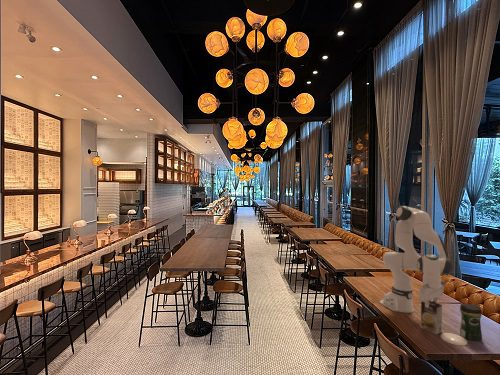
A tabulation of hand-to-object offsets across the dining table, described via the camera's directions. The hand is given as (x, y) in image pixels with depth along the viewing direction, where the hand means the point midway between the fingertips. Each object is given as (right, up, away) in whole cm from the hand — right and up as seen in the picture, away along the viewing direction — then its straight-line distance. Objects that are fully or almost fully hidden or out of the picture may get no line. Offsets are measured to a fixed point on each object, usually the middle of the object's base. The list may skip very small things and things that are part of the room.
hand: (431, 305), depth 170 cm
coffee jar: (+17, -15, -8) cm, 24 cm away
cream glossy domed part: (+6, -15, -11) cm, 19 cm away
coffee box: (0, -15, 0) cm, 15 cm away
